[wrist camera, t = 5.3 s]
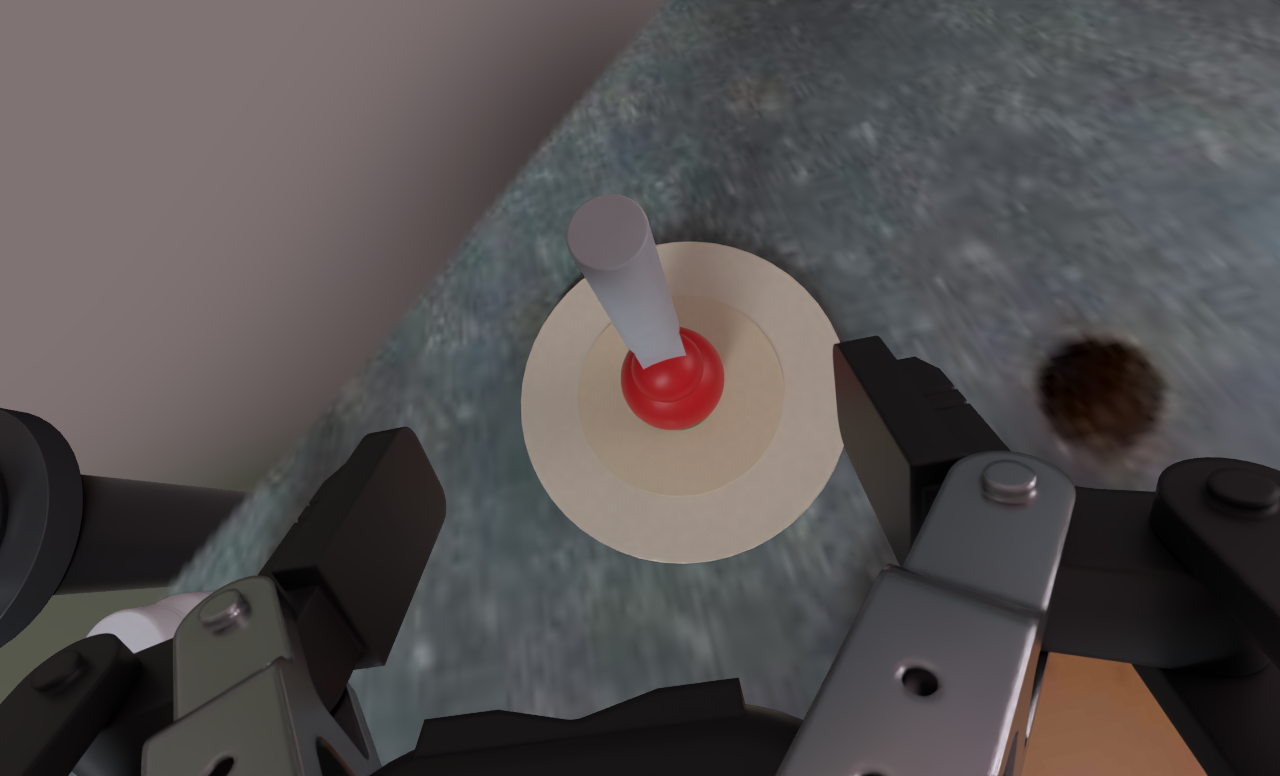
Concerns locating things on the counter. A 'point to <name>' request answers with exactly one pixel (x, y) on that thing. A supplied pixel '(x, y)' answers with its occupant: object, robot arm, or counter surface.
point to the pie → (1102, 724)
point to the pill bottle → (149, 621)
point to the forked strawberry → (644, 316)
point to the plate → (702, 455)
